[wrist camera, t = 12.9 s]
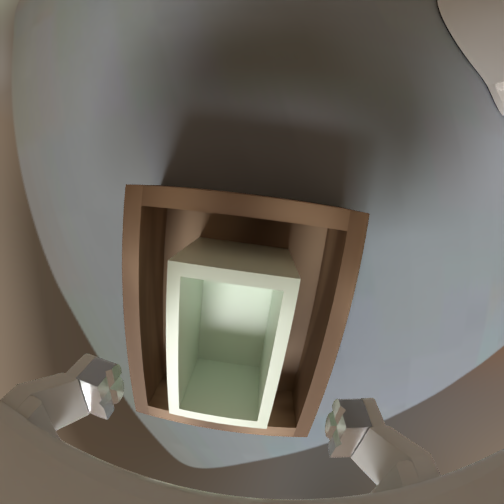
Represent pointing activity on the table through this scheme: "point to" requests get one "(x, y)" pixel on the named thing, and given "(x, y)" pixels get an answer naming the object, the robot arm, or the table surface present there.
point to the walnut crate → (252, 232)
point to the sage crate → (228, 329)
